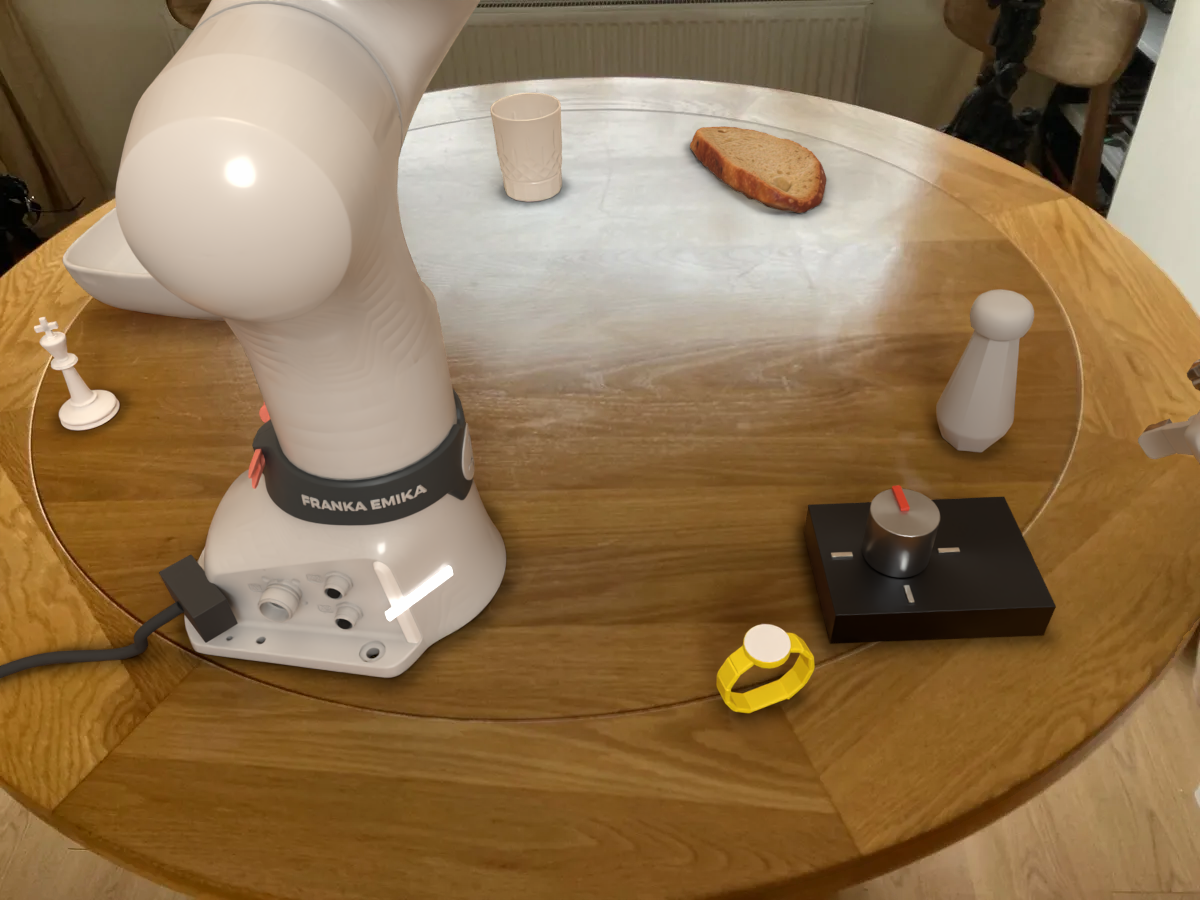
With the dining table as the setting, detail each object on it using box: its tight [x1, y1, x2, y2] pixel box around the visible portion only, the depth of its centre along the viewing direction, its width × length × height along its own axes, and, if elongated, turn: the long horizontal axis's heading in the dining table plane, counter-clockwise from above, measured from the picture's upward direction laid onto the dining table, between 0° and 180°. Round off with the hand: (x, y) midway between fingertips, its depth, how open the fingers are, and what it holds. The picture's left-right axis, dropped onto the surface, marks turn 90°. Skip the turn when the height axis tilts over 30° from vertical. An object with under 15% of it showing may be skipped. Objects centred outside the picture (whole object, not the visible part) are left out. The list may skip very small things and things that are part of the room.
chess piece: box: [33, 316, 120, 431], centre depth 82 cm, size 5×5×10 cm
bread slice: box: [689, 126, 827, 214], centre depth 113 cm, size 18×18×4 cm
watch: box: [715, 623, 816, 714], centre depth 58 cm, size 6×3×6 cm, turn 109°
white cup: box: [489, 92, 563, 203], centre depth 110 cm, size 8×8×10 cm
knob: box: [862, 484, 940, 578], centre depth 63 cm, size 4×4×4 cm
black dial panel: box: [803, 496, 1057, 645], centre depth 66 cm, size 14×10×3 cm
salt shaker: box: [935, 288, 1035, 453], centre depth 73 cm, size 6×6×13 cm
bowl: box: [61, 206, 226, 322], centre depth 98 cm, size 20×20×8 cm
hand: (1171, 409), depth 64 cm, fingers open, 8 cm apart
